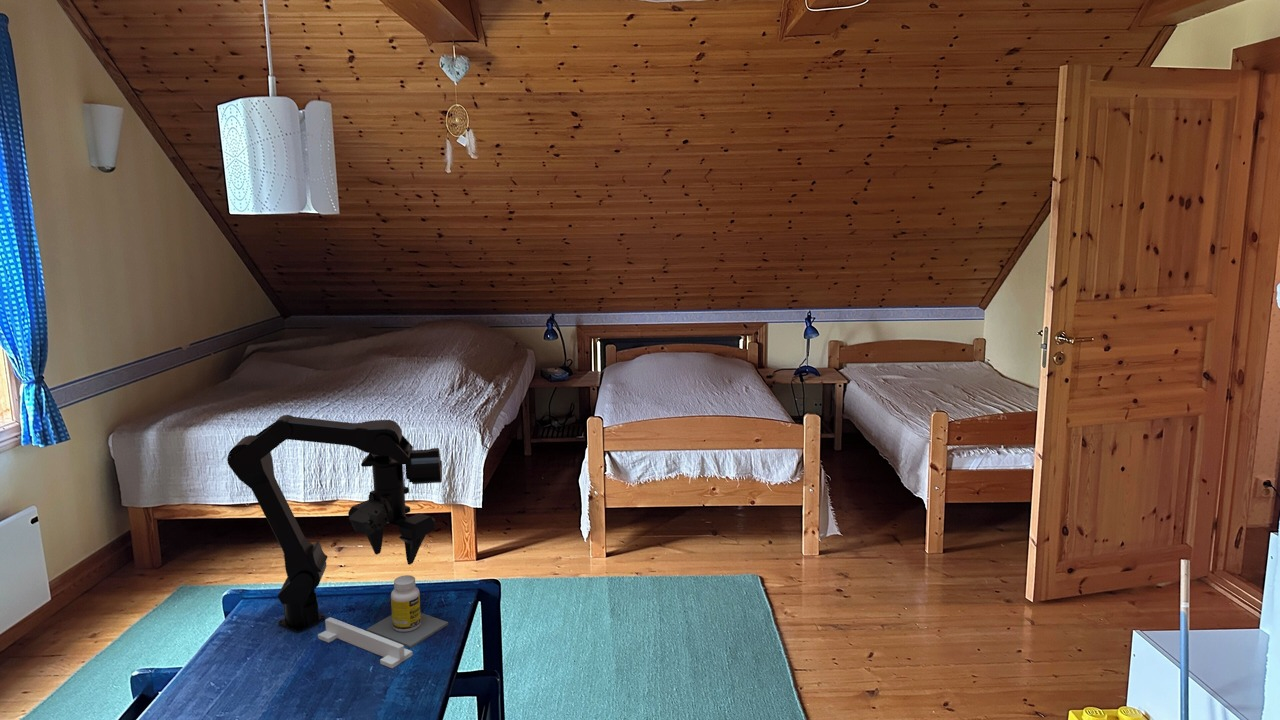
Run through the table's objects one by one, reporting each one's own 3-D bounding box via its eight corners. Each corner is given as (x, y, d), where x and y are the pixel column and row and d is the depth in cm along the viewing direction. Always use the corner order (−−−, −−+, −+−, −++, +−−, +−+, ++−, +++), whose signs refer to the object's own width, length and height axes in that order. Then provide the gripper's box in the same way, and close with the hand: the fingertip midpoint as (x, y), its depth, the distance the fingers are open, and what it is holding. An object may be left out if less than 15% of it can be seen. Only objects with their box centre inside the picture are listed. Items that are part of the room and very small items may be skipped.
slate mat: (366, 631, 160) (366, 629, 160) (404, 609, 168) (404, 607, 168) (410, 648, 154) (410, 646, 154) (448, 624, 162) (448, 622, 162)
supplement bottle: (413, 634, 158) (410, 587, 156) (387, 631, 159) (384, 584, 157) (426, 620, 163) (423, 574, 161) (400, 617, 164) (397, 572, 162)
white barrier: (318, 638, 157) (316, 624, 157) (339, 626, 161) (338, 612, 161) (392, 668, 147) (390, 653, 147) (412, 655, 152) (411, 640, 151)
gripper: (323, 489, 159) (329, 563, 162) (391, 507, 149) (396, 586, 153) (368, 472, 168) (373, 543, 171) (435, 488, 159) (439, 563, 162)
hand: (393, 558), depth 164 cm, fingers open, 9 cm apart
